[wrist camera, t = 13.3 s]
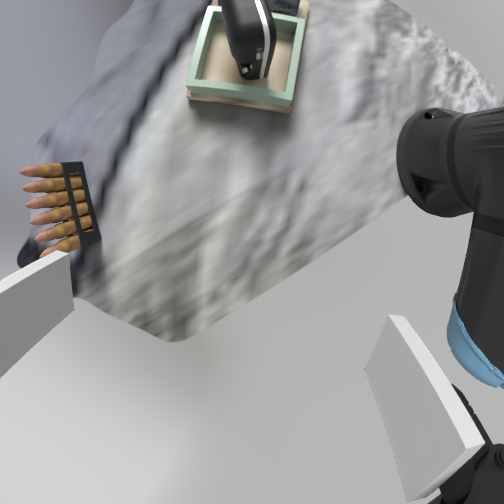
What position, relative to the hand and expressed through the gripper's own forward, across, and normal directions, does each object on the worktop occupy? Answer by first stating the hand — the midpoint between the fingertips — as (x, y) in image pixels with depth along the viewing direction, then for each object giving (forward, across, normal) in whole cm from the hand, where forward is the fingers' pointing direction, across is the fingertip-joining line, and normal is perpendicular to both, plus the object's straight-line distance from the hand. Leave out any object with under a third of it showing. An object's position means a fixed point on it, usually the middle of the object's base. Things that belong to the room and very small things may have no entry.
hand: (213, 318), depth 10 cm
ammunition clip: (+23, -22, -2) cm, 32 cm away
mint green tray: (+25, -4, +21) cm, 33 cm away
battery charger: (+24, -4, +18) cm, 30 cm away
